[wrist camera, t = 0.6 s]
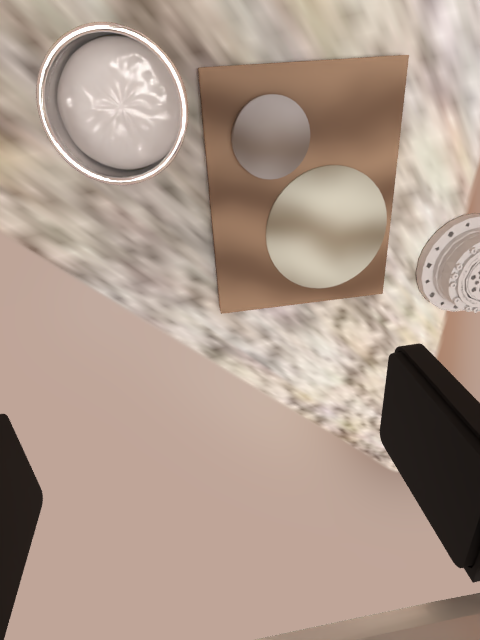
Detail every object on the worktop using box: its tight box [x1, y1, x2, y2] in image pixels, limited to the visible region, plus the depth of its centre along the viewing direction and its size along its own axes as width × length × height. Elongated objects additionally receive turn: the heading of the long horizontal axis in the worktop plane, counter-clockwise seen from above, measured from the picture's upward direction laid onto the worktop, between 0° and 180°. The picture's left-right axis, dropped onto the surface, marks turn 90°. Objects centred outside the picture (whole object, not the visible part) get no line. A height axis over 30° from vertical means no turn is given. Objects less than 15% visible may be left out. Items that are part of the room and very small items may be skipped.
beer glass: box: [36, 22, 188, 185], centre depth 26 cm, size 7×7×15 cm
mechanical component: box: [416, 213, 480, 313], centre depth 42 cm, size 10×4×10 cm
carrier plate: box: [198, 55, 409, 314], centre depth 36 cm, size 20×16×2 cm
